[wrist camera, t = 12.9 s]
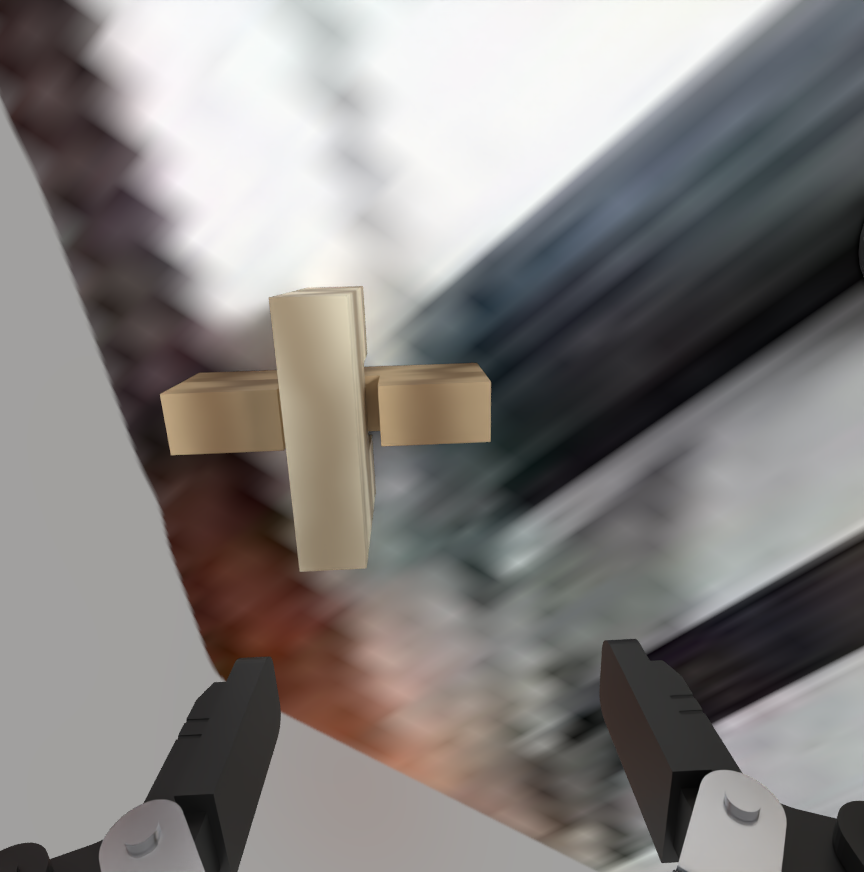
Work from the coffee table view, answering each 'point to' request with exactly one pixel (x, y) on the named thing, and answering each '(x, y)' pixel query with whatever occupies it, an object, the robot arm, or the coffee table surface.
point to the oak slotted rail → (385, 399)
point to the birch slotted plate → (326, 423)
